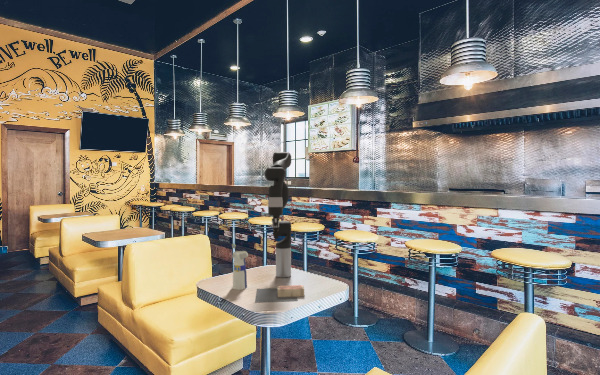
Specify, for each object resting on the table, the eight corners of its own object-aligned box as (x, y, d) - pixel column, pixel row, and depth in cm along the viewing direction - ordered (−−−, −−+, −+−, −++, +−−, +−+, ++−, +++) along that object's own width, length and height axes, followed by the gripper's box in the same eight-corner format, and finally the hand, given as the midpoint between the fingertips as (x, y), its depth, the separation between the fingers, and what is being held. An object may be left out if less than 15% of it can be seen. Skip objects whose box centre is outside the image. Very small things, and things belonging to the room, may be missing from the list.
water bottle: (244, 291, 172) (244, 243, 172) (229, 290, 174) (229, 242, 174) (250, 286, 180) (250, 240, 180) (235, 285, 182) (235, 240, 182)
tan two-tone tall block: (277, 285, 167) (303, 284, 168) (277, 293, 167) (303, 292, 168) (277, 289, 161) (304, 288, 162) (277, 297, 161) (304, 296, 162)
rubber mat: (256, 289, 174) (256, 288, 174) (294, 288, 176) (294, 287, 176) (254, 303, 153) (254, 302, 153) (297, 302, 155) (297, 301, 155)
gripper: (283, 206, 165) (283, 239, 165) (282, 205, 179) (282, 235, 179) (268, 206, 164) (268, 239, 164) (268, 205, 178) (268, 235, 178)
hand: (275, 237), depth 172 cm, fingers open, 8 cm apart
